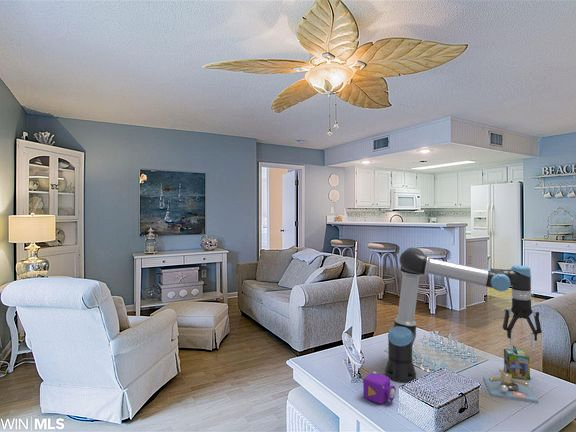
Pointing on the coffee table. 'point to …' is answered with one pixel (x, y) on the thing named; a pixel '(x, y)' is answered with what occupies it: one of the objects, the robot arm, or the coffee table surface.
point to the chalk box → (517, 363)
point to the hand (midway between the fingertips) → (521, 346)
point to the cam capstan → (508, 381)
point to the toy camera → (378, 388)
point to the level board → (510, 391)
